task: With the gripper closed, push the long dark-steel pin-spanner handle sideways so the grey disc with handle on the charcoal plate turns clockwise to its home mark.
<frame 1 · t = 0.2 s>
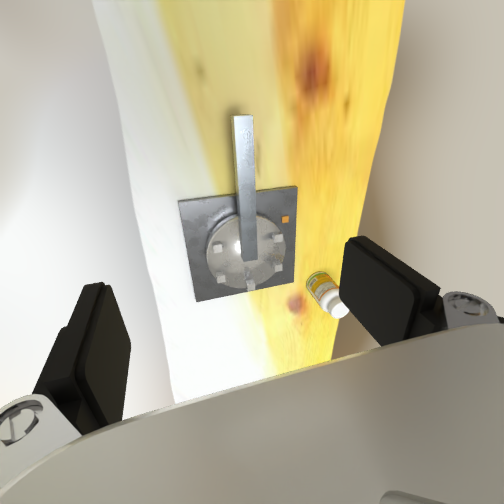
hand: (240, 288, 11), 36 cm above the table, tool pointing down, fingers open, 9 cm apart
supplement bottle: (316, 281, 62), on the table
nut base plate: (242, 245, 52), on the table
grey disc with handle: (245, 214, 46), point 3 cm above the table, hinge at 0.0°
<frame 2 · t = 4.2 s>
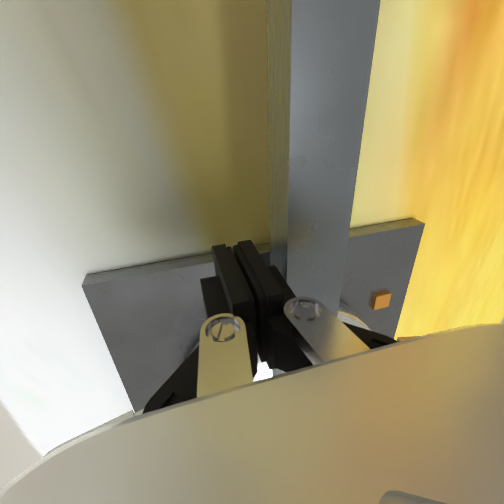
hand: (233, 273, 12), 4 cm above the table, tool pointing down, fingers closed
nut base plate: (272, 359, 22), on the table
grey disc with handle: (292, 312, 15), point 3 cm above the table, hinge at 0.3°, touching gripper
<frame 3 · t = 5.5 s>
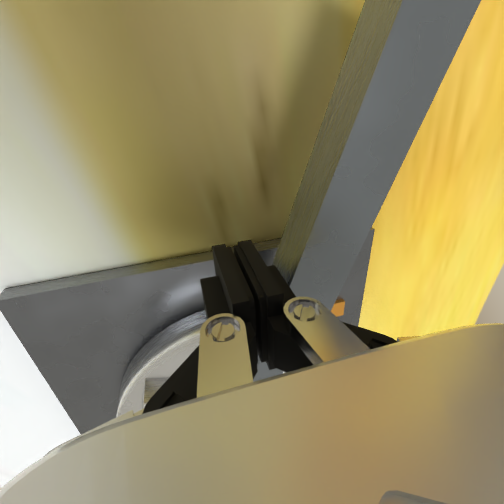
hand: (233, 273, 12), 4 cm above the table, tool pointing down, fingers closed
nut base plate: (226, 369, 21), on the table
grey disc with handle: (272, 320, 15), point 3 cm above the table, hinge at 20.2°, touching gripper
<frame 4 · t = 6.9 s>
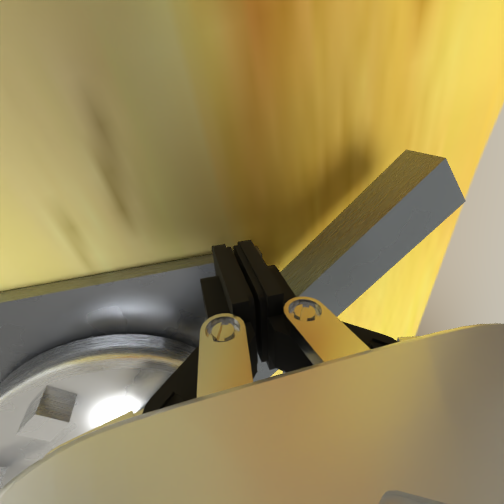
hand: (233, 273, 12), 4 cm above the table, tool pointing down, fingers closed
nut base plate: (123, 400, 19), on the table
grey disc with handle: (202, 371, 15), point 3 cm above the table, hinge at 49.3°, touching gripper
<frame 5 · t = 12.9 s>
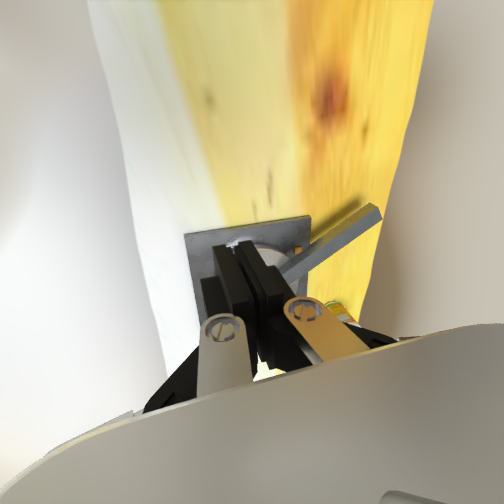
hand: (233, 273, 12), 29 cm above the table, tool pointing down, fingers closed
supplement bottle: (329, 310, 58), on the table
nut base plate: (252, 277, 49), on the table
grey disc with handle: (295, 262, 46), point 3 cm above the table, hinge at 59.7°
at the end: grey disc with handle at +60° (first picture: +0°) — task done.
